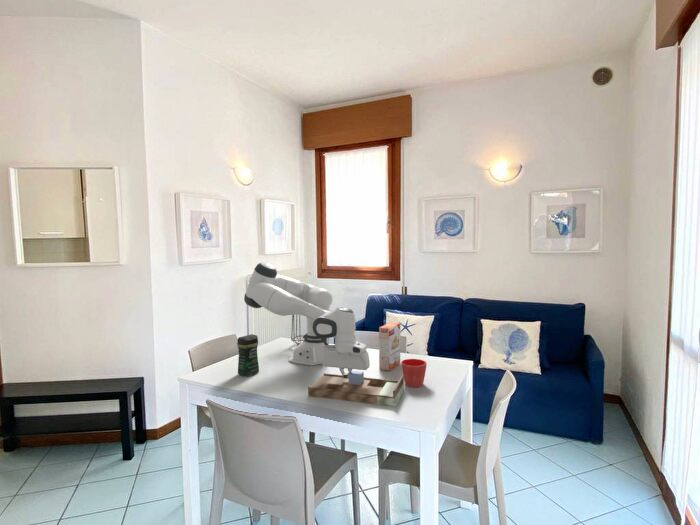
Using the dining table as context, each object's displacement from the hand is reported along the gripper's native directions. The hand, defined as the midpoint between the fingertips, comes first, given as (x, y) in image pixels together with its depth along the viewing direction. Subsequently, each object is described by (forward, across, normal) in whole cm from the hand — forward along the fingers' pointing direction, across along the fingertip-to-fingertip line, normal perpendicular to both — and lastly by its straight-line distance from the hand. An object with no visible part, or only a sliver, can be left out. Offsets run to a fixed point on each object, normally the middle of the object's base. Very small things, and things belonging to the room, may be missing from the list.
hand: (346, 378), depth 163 cm
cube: (+1, +4, 0) cm, 5 cm away
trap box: (+4, +6, -3) cm, 8 cm away
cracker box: (+5, +12, +33) cm, 35 cm away
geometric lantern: (+4, -47, +58) cm, 75 cm away
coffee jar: (+5, -51, +5) cm, 52 cm away
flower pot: (+5, +27, +12) cm, 30 cm away
